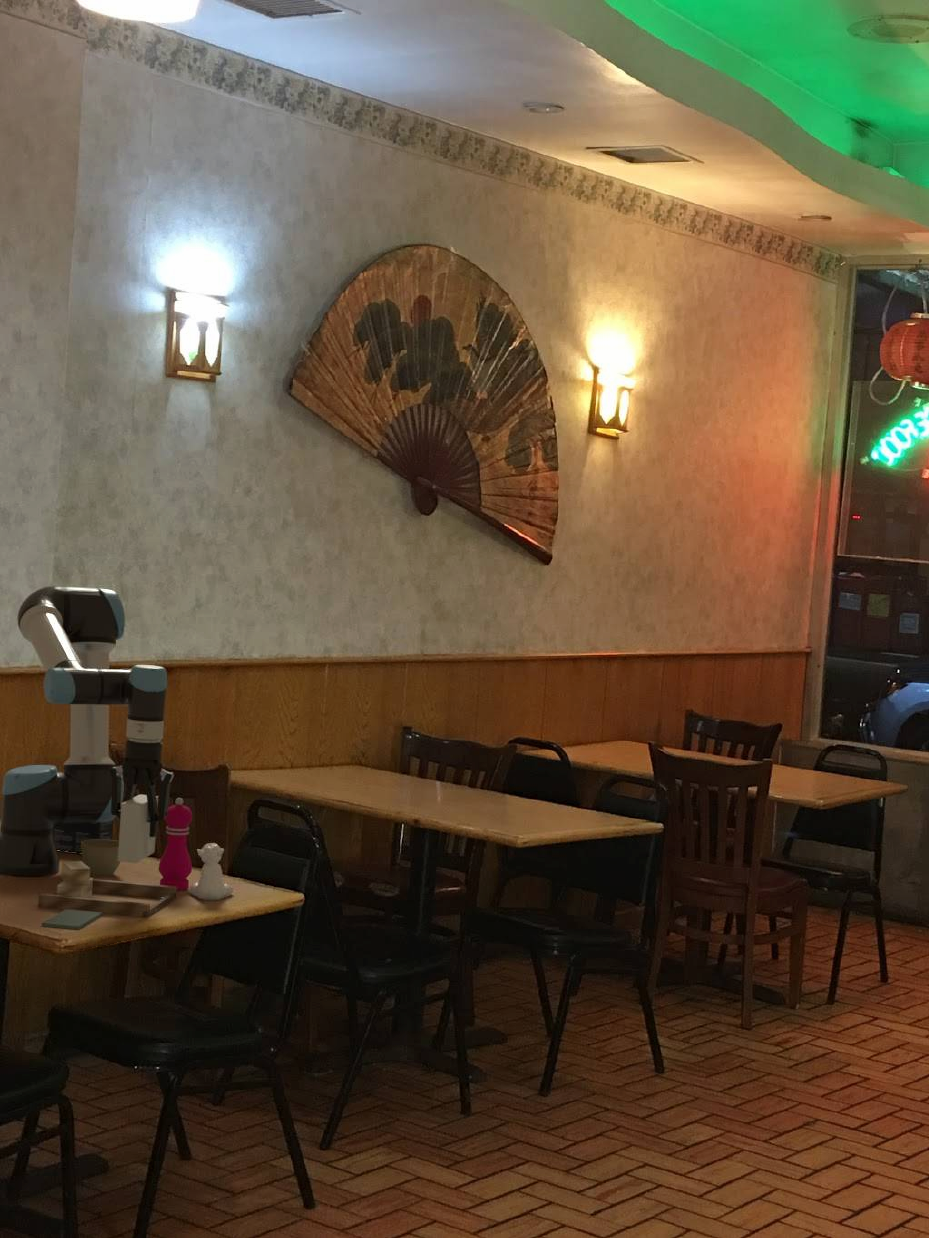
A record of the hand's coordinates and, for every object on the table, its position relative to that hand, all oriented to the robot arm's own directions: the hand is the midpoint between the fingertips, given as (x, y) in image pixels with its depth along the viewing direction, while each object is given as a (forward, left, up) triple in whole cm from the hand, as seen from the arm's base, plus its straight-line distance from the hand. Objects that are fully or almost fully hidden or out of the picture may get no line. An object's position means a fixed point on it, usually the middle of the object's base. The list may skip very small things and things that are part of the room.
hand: (136, 850), depth 346 cm
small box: (-30, +50, -12) cm, 60 cm away
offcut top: (-13, 0, -8) cm, 15 cm away
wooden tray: (-5, 0, -11) cm, 12 cm away
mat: (-6, -19, -11) cm, 23 cm away
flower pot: (-16, +27, -12) cm, 33 cm away
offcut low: (-13, 0, -12) cm, 17 cm away
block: (0, 0, -1) cm, 1 cm away
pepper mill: (+3, +20, -12) cm, 23 cm away
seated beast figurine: (+13, +14, -12) cm, 22 cm away
